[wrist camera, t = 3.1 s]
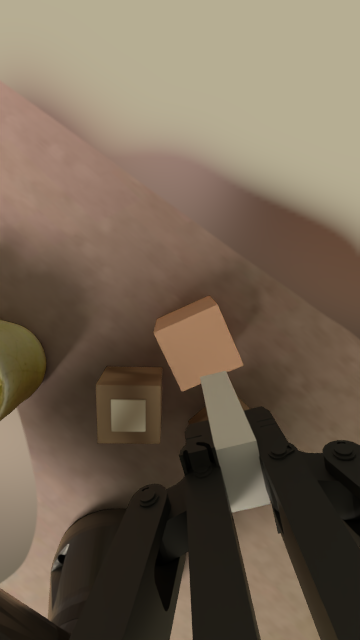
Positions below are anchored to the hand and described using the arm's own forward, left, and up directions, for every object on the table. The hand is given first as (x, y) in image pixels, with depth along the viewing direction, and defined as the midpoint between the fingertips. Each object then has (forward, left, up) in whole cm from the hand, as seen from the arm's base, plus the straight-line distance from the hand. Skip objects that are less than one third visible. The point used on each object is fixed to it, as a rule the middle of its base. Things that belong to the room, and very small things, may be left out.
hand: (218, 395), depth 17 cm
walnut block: (-8, -5, -16) cm, 18 cm away
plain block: (0, 0, -16) cm, 16 cm away
